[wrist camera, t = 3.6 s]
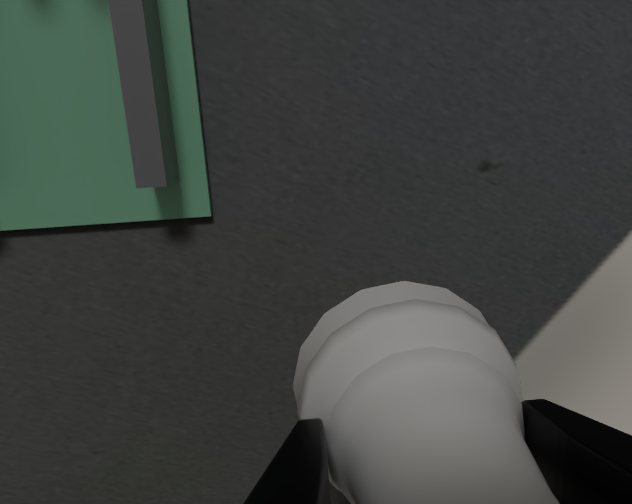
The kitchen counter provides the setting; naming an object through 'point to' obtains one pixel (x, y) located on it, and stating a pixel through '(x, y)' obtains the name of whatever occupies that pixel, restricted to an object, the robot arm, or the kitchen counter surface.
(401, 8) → the kitchen counter surface
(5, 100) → the header socket
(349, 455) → the rook chess piece
